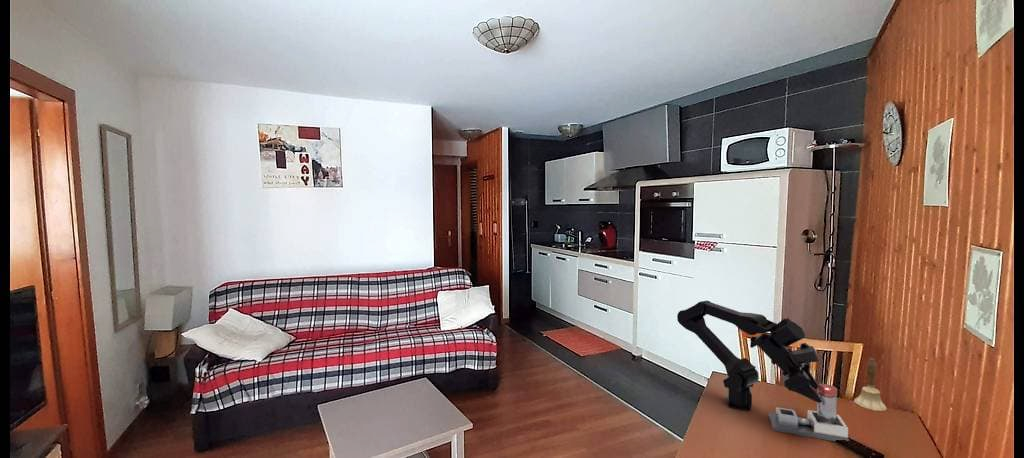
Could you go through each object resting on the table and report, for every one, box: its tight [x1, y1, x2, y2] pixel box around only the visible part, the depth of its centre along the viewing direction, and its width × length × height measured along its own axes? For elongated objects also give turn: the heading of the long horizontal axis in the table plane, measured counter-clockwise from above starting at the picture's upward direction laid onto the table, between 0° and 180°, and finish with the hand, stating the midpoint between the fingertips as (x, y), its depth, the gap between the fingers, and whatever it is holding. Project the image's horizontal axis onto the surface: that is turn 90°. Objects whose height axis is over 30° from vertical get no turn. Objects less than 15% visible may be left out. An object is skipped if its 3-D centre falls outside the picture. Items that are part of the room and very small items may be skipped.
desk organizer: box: [768, 406, 850, 442], centre depth 122 cm, size 18×9×4 cm, turn 66°
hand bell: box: [853, 357, 888, 412], centre depth 135 cm, size 8×8×16 cm
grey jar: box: [816, 383, 838, 425], centre depth 120 cm, size 5×5×12 cm
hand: (819, 395), depth 120 cm, fingers open, 9 cm apart
